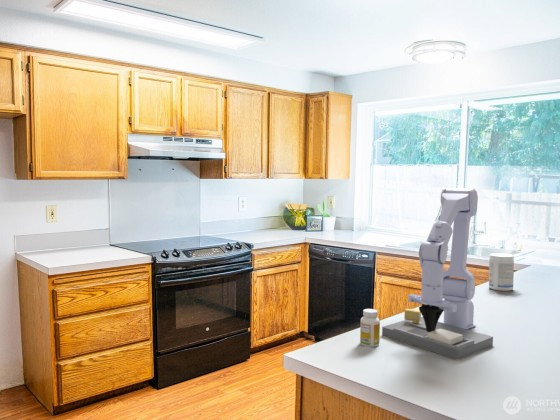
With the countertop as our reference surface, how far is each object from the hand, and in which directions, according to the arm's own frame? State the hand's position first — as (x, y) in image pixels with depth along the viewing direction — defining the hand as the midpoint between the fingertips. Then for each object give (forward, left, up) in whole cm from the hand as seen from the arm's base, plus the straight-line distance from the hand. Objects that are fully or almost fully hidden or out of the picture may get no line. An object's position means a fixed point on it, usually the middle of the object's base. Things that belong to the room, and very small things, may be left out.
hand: (430, 331), depth 137 cm
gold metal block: (-6, -11, -1) cm, 13 cm away
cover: (0, +5, -1) cm, 5 cm away
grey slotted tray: (-5, -1, -4) cm, 6 cm away
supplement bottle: (+13, -11, -4) cm, 18 cm away
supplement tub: (-83, -22, -4) cm, 87 cm away
